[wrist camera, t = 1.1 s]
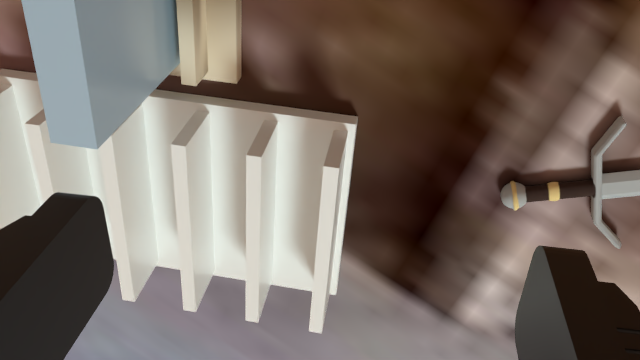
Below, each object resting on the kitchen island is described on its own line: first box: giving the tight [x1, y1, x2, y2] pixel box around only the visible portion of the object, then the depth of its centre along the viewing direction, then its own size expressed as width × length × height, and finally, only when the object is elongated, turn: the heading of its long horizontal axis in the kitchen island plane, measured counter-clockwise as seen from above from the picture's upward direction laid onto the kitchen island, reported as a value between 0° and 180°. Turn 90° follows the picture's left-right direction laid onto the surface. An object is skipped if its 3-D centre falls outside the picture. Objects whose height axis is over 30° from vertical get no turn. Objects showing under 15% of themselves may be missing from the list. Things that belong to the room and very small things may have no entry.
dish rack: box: [0, 69, 358, 333], centre depth 36 cm, size 13×22×5 cm, turn 86°
